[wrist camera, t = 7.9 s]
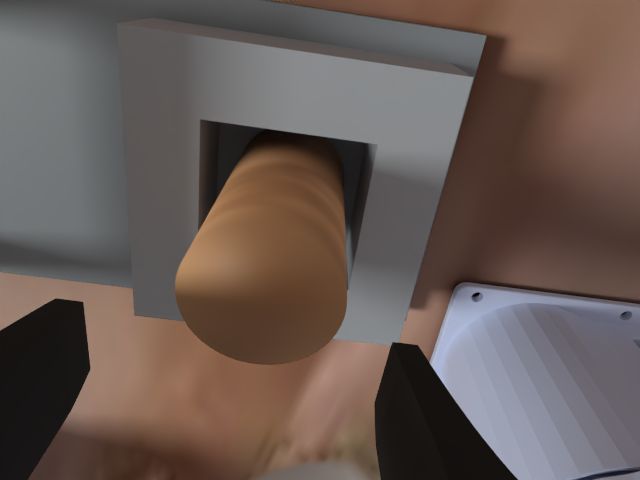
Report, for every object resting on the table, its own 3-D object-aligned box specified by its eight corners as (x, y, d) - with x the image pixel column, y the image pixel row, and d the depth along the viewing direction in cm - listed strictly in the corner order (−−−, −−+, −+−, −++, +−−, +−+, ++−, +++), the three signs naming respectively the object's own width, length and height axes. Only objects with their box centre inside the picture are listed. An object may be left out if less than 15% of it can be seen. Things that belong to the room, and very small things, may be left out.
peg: (355, 138, 17) (367, 246, 10) (329, 232, 19) (325, 377, 12) (247, 112, 17) (182, 205, 10) (232, 210, 19) (169, 347, 12)
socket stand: (478, 33, 16) (654, 83, 8) (402, 308, 22) (452, 520, 13) (-147, -65, 15) (-799, -140, 6) (-58, 251, 21) (-340, 443, 12)
